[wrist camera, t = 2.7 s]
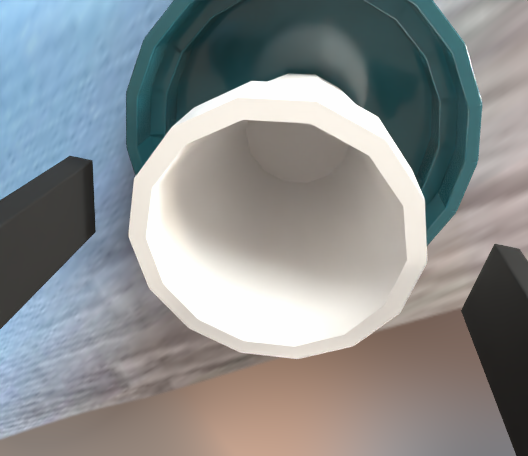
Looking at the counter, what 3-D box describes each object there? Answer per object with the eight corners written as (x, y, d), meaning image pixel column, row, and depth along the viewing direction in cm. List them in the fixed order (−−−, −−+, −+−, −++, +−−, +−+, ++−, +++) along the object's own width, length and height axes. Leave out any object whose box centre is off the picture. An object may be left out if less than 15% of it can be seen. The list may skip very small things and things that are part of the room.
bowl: (152, 224, 30) (125, 260, 26) (162, -75, 22) (125, -88, 18) (400, 276, 29) (410, 320, 26) (511, -12, 21) (552, -12, 17)
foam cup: (220, 197, 28) (144, 341, 17) (215, 40, 23) (105, 90, 12) (372, 209, 27) (401, 370, 16) (397, 46, 22) (464, 108, 11)
